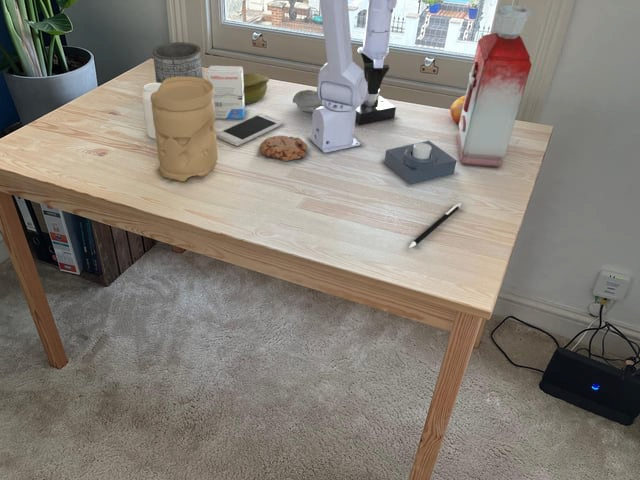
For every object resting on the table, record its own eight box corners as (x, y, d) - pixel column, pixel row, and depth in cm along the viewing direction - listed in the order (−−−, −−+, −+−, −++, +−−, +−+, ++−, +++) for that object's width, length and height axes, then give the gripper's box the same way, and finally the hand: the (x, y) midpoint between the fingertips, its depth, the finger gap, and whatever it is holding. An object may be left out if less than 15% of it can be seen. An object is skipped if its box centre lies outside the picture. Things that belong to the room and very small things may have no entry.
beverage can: (166, 128, 140) (160, 79, 133) (178, 137, 136) (172, 87, 129) (143, 134, 138) (135, 85, 130) (154, 144, 134) (147, 94, 126)
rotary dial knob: (379, 106, 141) (381, 91, 139) (361, 106, 141) (362, 91, 139) (376, 99, 144) (378, 84, 142) (359, 99, 145) (361, 84, 142)
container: (156, 184, 120) (144, 100, 108) (164, 155, 130) (154, 76, 118) (216, 183, 120) (211, 100, 108) (219, 155, 130) (215, 75, 118)
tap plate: (359, 125, 140) (360, 113, 138) (341, 111, 147) (342, 99, 145) (394, 118, 143) (396, 106, 141) (375, 104, 149) (377, 93, 147)
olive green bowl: (268, 108, 149) (268, 82, 144) (222, 107, 149) (220, 82, 145) (269, 90, 157) (269, 66, 153) (225, 90, 158) (224, 66, 153)
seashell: (283, 111, 147) (283, 92, 144) (300, 100, 152) (301, 82, 149) (323, 123, 141) (324, 103, 138) (339, 111, 147) (341, 92, 143)
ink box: (245, 111, 147) (244, 65, 140) (243, 119, 143) (241, 72, 136) (212, 110, 148) (209, 64, 140) (209, 118, 144) (205, 71, 137)
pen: (462, 206, 112) (463, 201, 111) (410, 250, 102) (411, 245, 101) (458, 205, 113) (459, 200, 112) (406, 248, 102) (407, 243, 101)
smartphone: (215, 136, 136) (215, 133, 136) (260, 116, 145) (260, 112, 144) (237, 146, 132) (236, 142, 132) (281, 124, 141) (281, 121, 140)
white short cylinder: (418, 161, 117) (420, 152, 116) (408, 153, 119) (410, 144, 118) (433, 158, 118) (435, 149, 117) (423, 150, 120) (424, 141, 119)
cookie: (258, 143, 134) (258, 131, 132) (303, 141, 134) (304, 129, 132) (261, 164, 126) (261, 152, 124) (309, 162, 127) (310, 149, 125)
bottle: (505, 170, 123) (550, 21, 103) (455, 166, 125) (490, 19, 105) (497, 139, 134) (537, 0, 114) (452, 136, 135) (483, -3, 116)
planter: (213, 95, 155) (210, 46, 147) (185, 111, 148) (180, 61, 139) (177, 86, 160) (172, 39, 152) (149, 102, 153) (142, 52, 144)
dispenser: (411, 186, 118) (415, 164, 115) (383, 163, 126) (387, 142, 123) (455, 175, 121) (461, 154, 118) (426, 153, 129) (430, 132, 126)
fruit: (495, 125, 136) (485, 97, 132) (463, 141, 139) (451, 114, 135) (485, 111, 142) (475, 83, 138) (454, 126, 145) (443, 100, 141)
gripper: (357, 19, 137) (351, 76, 146) (363, 39, 126) (357, 99, 135) (387, 19, 137) (379, 76, 146) (396, 39, 126) (387, 99, 135)
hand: (370, 87), depth 140 cm, fingers open, 7 cm apart
